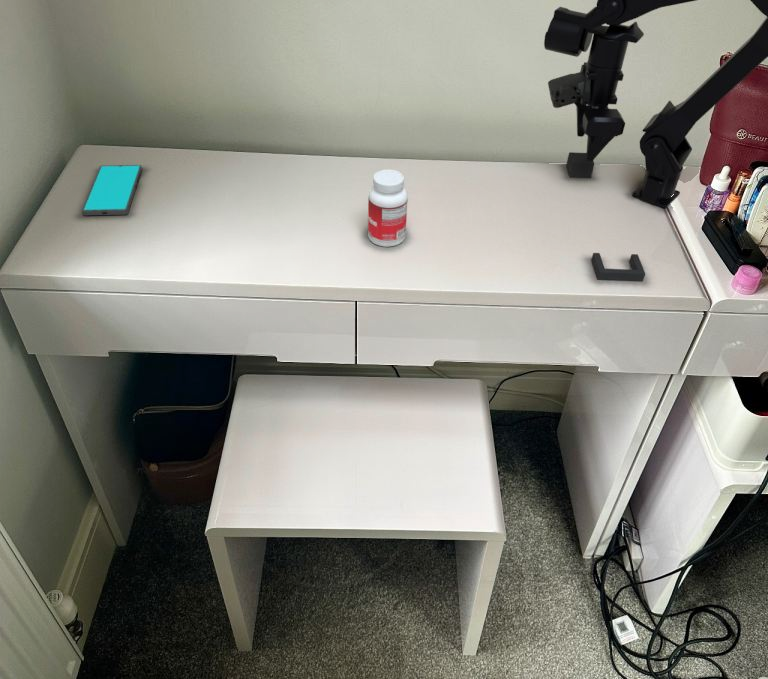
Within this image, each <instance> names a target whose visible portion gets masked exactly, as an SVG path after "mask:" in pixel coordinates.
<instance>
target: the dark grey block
mask: <svg viewBox="0 0 768 679" xmlns="http://www.w3.org/2000/svg"><path fill="white" fill-rule="evenodd" d="M586 154H587V152H572V151H570V152H568V156H567V160H566V164H565V168H566V170H567V174H568V177H569V178H576V179H577V178H579V179H591V178H592V175H593V171H594V167H595V162H594V160H593V161H587V160H586Z"/></svg>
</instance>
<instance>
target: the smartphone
mask: <svg viewBox="0 0 768 679" xmlns="http://www.w3.org/2000/svg"><path fill="white" fill-rule="evenodd" d="M142 171H143V167H142V164H121V165H120V164H119V165H118V164H114V165H113V164H112V165H100V166H99V168H98V170H97V173H96V175H95V178H94V180H93V183H92V185H91V187H90V190H89V192H88V194H87V197H86V199H85V201H84V204H83V206H82V209H81V212H82V215H83V216H121V215H122V216H123V215H129V211H130V208H131V206H132V202H133V199H134V197H135V192H136V190H137V187H138V184H139V181H140V178H141V175H142Z"/></svg>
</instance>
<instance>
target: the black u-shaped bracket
mask: <svg viewBox="0 0 768 679" xmlns="http://www.w3.org/2000/svg"><path fill="white" fill-rule="evenodd" d="M590 261H591V264H592V267H593V270H594V274H595V277H596V280H597V281H623V282H644V280H645V277H646V272H645V268H644V266H643V264H642V261H641V259H640V257H639V255H638V254H637V253H631V254H630V257H629V260H628V263H629V265H630V268H631V269H630V268H629V269H625V268H606V267H605V265H604V262H603V259H602V257H601V252H592V256H591V259H590Z"/></svg>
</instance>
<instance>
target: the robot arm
mask: <svg viewBox="0 0 768 679" xmlns="http://www.w3.org/2000/svg"><path fill="white" fill-rule="evenodd" d="M696 1H697V0H597V1H596V6H594V7H593V8H592V9H590V11H588V12H587V13H586V12H582V11H581V12H580V11H575V10H571V9H568V8H567V7H563V6H558V8H556V9H555V10H554V11H553V17H552V19H551V21H550V22H549V24H548V27H547V31H546V32H545V35H544V41H543V47H544V50H546V51H551V52H554V53H558V54H562V55H567V56H571V57H575V58H577V57H579V56H580V55H581V54H582V52H583V53H586V52H587V51H588V50H589V53H588V59H587V61H584V62H583V64H581V66H580V71H579V72H575V73H568V74H565V75H562V76H559V77H556V78H552V79H549V80H548V82H547V86H548V91H549V96H550V101H551V103H552V107H553V108H555V109H559V108H560V109H561V108H563V107H566V106H569V105H573V104H574V105H575V106H576V135H577V137H579V138H580V137H584V136H585V135H586V137H587V140H586V153H587V154H586V160H587V161H594V160H595V159H596V158H597V156H598V155H599V154H601V152H602V151H603V150H604V149H605V148H606V146H607V145H608V144H609V143H610V142H611V141H612V140H614V138H615V137H619V136H622V135H623V134H624V130H625V127H626V122H625V119H624V118H623V116H622V114H621V112H620V111H619V110H618V109H617V108H609V105H617V103H618V97H617V94H616V92H617V88H618V84H619V82H622V81H623V80H624V76H625V74H624V72H623V71H622V68H623V66H624V60H625V57H626V53H627V49H628V45H629V43H632V44H638V42H640V40H642V38H643V37H644V35H645V33H644V32H643V31H642V29H641V28H640V26H639V25H638V22H637V21H634V22H633V23H631V24H630V25H625V23H627V22H629V21H632V20H635V19H638V18H640V17H643V16H645V15H646V14H648V13H651V12H653V11H655V10H658V9H661V8H666V7H671V6H675V5H680V4H687V3H691V2H696ZM749 1H750V2H751V3H752V4H753V6H755V7H756V8H757V10H758V11H759V12H760V13H762V14H763V15H764V16H765V19H764V20H763V21H762V23H761V24H760V25H759V27H758V28H757V29H756V30H755V32H754V33H753V34H752V35H751V36H750V37H749V38H748V39H747V40H746V41H745V42H744V43H743V44H741V46H740V47H739V48H738V49H736V50H735V52H734V53H732V55H731V56H730V57H728V58H727V60H725V61H724V62H723V63H722V64H721V65H720V66H719V67H718V68H717V69H716V70H715V71H714V72H713V73H712V74H711V75H710V76H709V77H708V78H706V80H704V81H703V83H701V85H699V87H697V88H696V89H695V90H694V91H693V92H692V93H691V94H690V95H689V96H688V97H687V98H685V100H683V101H681V102H679V103H678V104H676V105H674V103H673V102H672V101H671V100H668V102H667V103H666V104H665V106H664V107H663V108H662V109H661V111H659V112H658V113H655V114H653V116H652V117H651V118H650V119H649V121H648V122H647V123H646V125H645V126H644V127H643V129H642V133H644V134H643V135H642V136H641V137H640V139H639V149H640V151H641V154H642V155H643V156H644V161H645V173H644V176H643V179H642V182H641V184H640V185H639V186H638V187H637V188H636V189H635V190H634V191H632V193H631V196H632V197H634V198H637V199H640V200H642V201H644V202H647V203H650V204H653V205H655V206H657V207H660V208H663V209H667V208H668V207H669V206H670V205H672V203H673V202H674V201H675V200H676V199H677V198H678V197H679V196H680V194H681V191H679V190H678V189H677V187H678V183H679V181H680V178H681V174H682V172H683V170H684V166H683V165H684V164H685V162H686V160H687V159H688V157H689V156H690V154H691V152H692V151H693V148H692V146H691V144H690V142H689V140H688V139H687V135H688V134H689V132H690V131H691V130H692V129H693V127H695V125H696V124H697V122H698V121H700V120H701V118H703V117H704V116H705V115H706V114H707V113H708V112H710V111H711V109H713V108H714V107H715V106H716V105H717V104H718V103H719V102H720V101H721V100H722V99H723V98H724V97H726V96H727V95H728V94H729V93H730V92H731V91H732V90H734V88H735V87H736V86H738V85H739V84H740V83H741V82H742V81H743V80H744V79H745V78H746V77H748V76H749V75H750V74H751V73H752V72H753V71H754V70H755V69H756V68H757V67H758V66H760V65H761V64H762V63H763V62H764V61H765V60H766V59H767V58H768V0H749ZM605 24H606V25H605ZM589 48H590V49H589ZM673 194H674V195H673ZM672 195H673V196H672ZM671 196H672V197H671Z"/></svg>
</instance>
